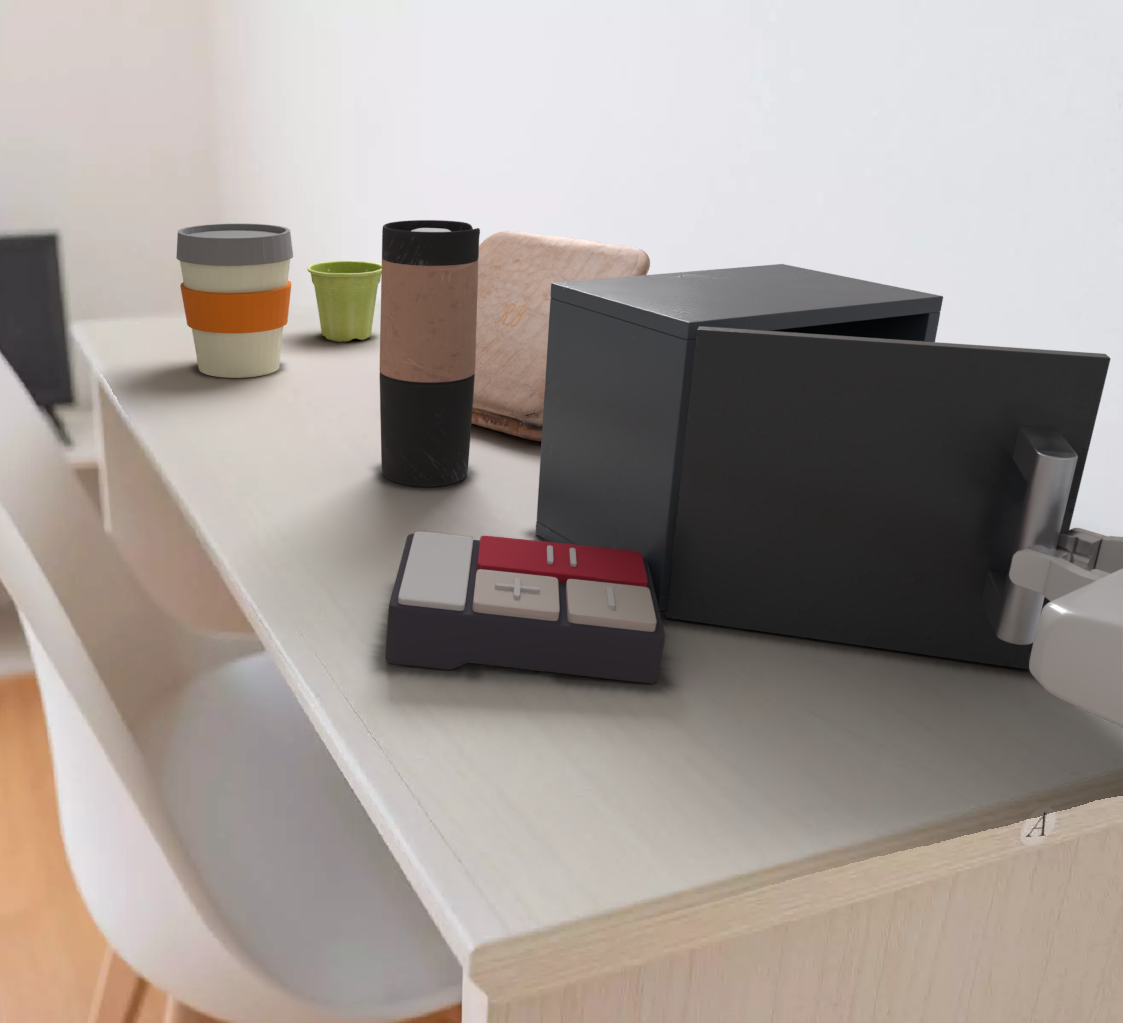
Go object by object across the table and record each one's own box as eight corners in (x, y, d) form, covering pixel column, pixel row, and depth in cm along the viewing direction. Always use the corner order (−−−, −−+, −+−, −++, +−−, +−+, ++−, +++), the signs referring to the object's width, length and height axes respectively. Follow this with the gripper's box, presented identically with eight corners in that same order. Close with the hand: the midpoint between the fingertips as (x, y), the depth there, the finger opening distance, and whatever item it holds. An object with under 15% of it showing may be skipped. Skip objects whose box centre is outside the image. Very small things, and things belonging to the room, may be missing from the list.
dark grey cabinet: (895, 559, 79) (943, 295, 72) (658, 611, 71) (689, 322, 65) (751, 494, 91) (782, 263, 84) (535, 533, 83) (550, 282, 77)
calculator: (668, 625, 61) (388, 594, 63) (656, 695, 63) (383, 663, 65) (649, 545, 71) (408, 520, 73) (639, 608, 73) (403, 582, 75)
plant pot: (368, 347, 138) (368, 274, 135) (296, 341, 141) (295, 270, 138) (394, 332, 146) (395, 263, 143) (325, 326, 149) (325, 258, 146)
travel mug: (360, 476, 95) (361, 226, 87) (410, 452, 101) (415, 217, 93) (440, 494, 91) (448, 234, 83) (487, 469, 96) (498, 224, 89)
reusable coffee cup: (215, 350, 136) (209, 220, 131) (313, 360, 132) (311, 226, 127) (161, 375, 125) (152, 234, 120) (265, 386, 121) (261, 241, 116)
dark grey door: (1055, 719, 59) (1140, 383, 53) (657, 658, 65) (690, 350, 59) (1032, 662, 65) (1106, 353, 59) (667, 611, 71) (698, 325, 65)
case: (381, 404, 115) (383, 240, 109) (522, 370, 128) (531, 222, 122) (539, 453, 101) (550, 267, 95) (680, 409, 113) (697, 243, 108)
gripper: (1499, 537, 50) (1154, 455, 61) (1309, 664, 40) (932, 537, 51) (1451, 665, 53) (1126, 564, 63) (1258, 817, 42) (908, 665, 53)
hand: (1038, 553), depth 57 cm, fingers closed
